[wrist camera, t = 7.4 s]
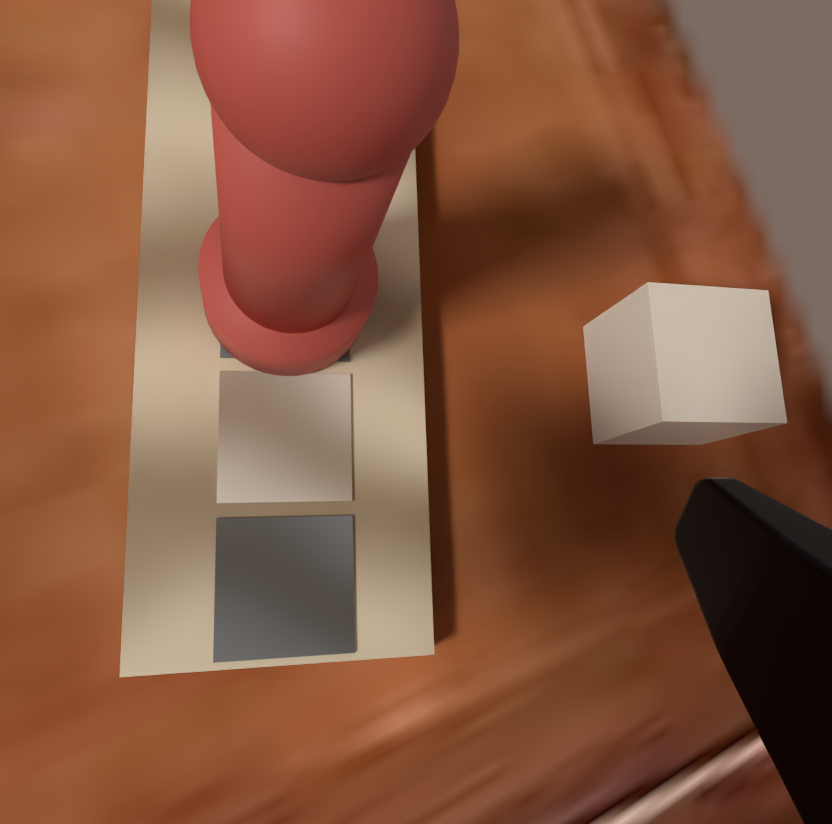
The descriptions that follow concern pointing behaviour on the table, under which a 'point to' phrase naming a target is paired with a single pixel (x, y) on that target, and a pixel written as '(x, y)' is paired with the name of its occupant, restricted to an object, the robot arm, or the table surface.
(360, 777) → the table surface
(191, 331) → the track board
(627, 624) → the table surface
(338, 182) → the pawn
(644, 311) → the white cube
